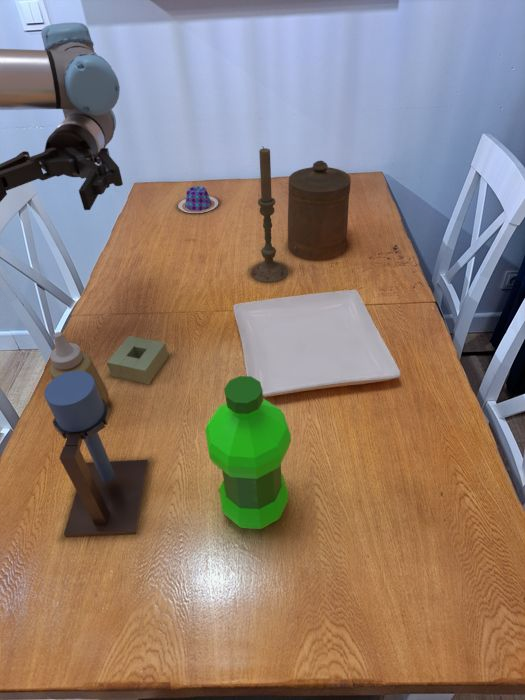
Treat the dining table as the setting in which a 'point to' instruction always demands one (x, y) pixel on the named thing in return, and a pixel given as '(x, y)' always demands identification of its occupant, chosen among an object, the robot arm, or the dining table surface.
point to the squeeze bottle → (73, 362)
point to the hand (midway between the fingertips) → (33, 203)
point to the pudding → (197, 200)
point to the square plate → (312, 343)
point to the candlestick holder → (267, 227)
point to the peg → (80, 412)
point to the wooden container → (318, 212)
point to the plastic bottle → (249, 454)
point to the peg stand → (101, 488)
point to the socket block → (138, 359)
